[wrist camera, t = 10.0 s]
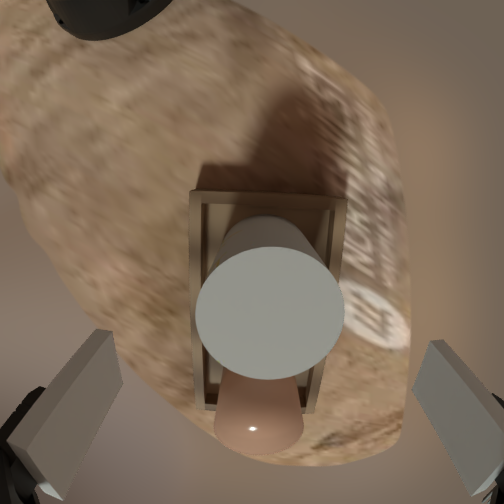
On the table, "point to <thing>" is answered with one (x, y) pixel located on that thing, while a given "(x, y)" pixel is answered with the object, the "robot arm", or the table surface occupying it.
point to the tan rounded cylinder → (258, 414)
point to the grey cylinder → (268, 301)
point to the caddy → (208, 244)
